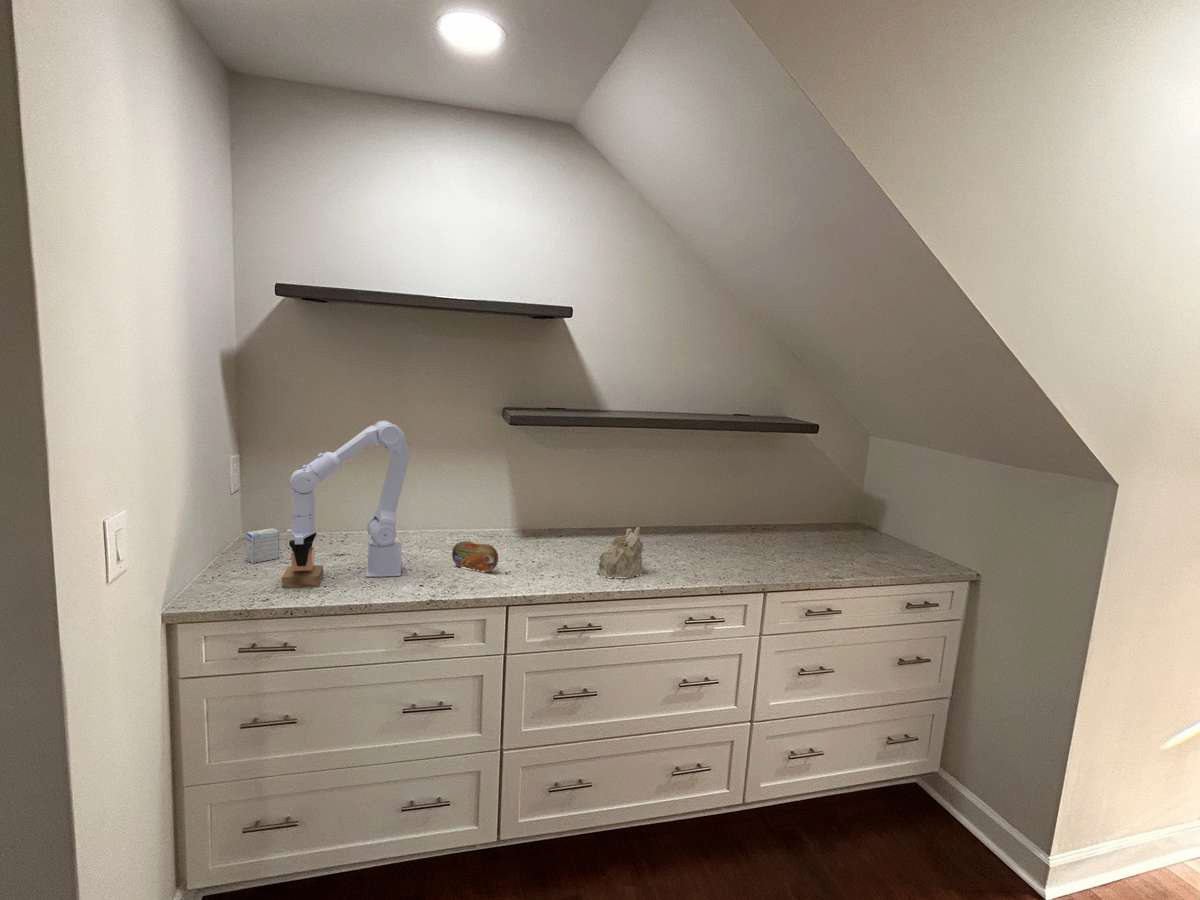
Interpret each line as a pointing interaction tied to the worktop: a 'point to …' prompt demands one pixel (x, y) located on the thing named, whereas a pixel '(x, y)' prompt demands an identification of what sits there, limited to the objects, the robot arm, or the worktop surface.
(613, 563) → the ceramic cottage
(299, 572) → the walnut block
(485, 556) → the tin
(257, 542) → the medicine box
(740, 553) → the worktop surface
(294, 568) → the terracotta cube
